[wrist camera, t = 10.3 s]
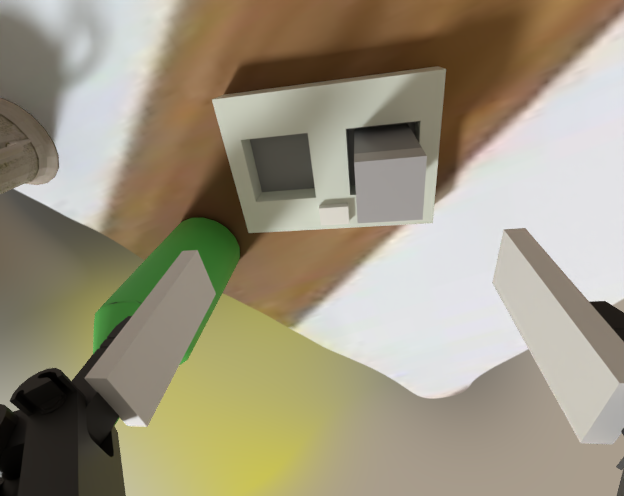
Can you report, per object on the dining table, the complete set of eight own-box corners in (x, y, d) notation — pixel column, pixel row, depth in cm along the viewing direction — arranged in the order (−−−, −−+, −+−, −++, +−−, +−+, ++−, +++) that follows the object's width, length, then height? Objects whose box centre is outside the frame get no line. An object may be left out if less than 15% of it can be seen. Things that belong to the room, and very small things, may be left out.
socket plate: (223, 94, 31) (208, 101, 28) (438, 66, 28) (448, 69, 25) (255, 220, 39) (246, 236, 35) (427, 209, 35) (434, 226, 32)
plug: (354, 128, 31) (354, 162, 23) (407, 123, 30) (426, 155, 22) (357, 177, 34) (357, 223, 25) (405, 173, 33) (422, 219, 25)
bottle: (164, 220, 40) (-40, 415, 19) (226, 207, 38) (72, 410, 17) (194, 274, 45) (56, 479, 24) (251, 266, 43) (153, 482, 22)
